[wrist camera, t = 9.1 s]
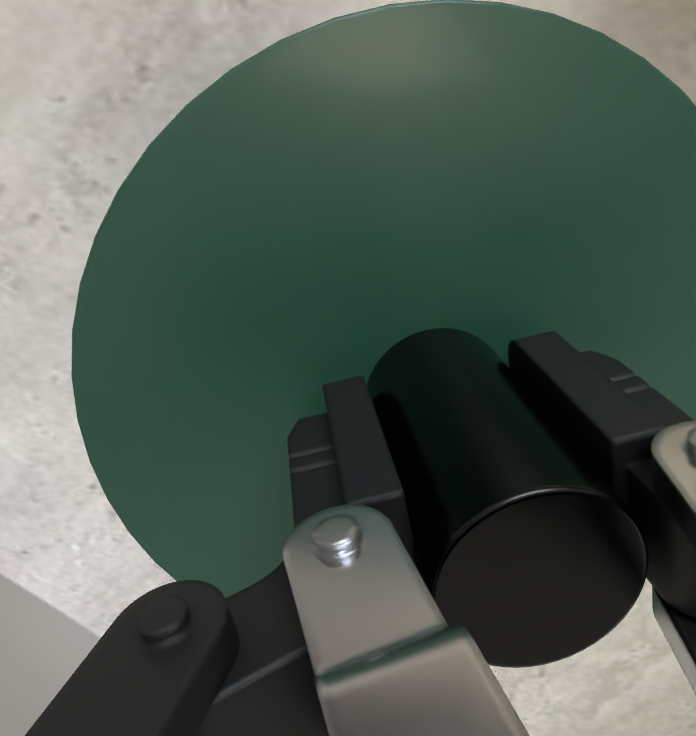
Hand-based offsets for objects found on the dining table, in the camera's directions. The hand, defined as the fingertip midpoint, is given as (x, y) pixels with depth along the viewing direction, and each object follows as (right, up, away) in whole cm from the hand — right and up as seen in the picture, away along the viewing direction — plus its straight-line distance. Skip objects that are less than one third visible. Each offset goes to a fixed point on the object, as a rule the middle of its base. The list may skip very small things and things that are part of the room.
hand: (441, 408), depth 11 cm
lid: (0, 0, +1) cm, 1 cm away
